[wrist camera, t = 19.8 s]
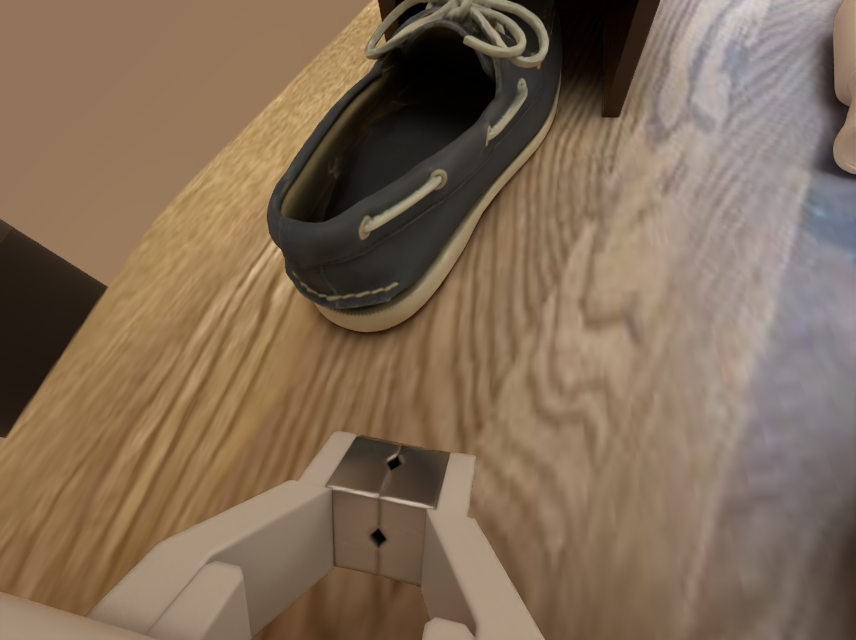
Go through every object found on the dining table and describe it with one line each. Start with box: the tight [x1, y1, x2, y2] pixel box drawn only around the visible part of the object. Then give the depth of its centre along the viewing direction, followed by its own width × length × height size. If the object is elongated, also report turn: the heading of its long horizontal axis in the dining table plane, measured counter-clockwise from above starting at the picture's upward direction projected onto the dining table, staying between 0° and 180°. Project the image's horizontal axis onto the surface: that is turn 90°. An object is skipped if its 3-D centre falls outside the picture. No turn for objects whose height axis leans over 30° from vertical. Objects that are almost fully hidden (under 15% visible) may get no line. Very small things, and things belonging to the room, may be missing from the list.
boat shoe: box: [267, 0, 563, 332], centre depth 21 cm, size 26×10×8 cm, turn 148°
